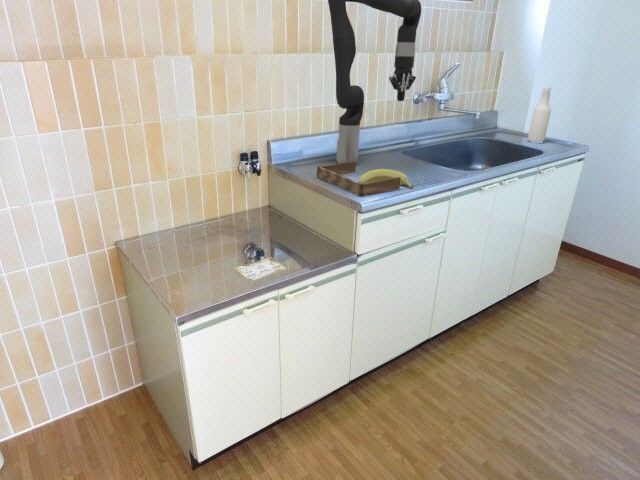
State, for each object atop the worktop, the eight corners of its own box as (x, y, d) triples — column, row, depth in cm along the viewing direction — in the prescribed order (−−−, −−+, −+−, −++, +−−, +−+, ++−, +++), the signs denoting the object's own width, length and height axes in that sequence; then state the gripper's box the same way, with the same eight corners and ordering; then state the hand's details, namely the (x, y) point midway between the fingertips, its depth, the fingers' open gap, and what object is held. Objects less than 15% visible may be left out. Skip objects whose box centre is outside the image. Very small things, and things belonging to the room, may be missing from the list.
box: (316, 177, 184) (317, 166, 183) (353, 171, 194) (354, 160, 193) (360, 197, 163) (361, 184, 162) (399, 188, 173) (400, 177, 172)
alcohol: (527, 142, 259) (539, 87, 246) (526, 139, 266) (537, 85, 254) (544, 144, 256) (557, 88, 244) (542, 141, 264) (555, 86, 252)
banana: (371, 161, 183) (419, 174, 176) (369, 172, 186) (416, 186, 180) (357, 177, 174) (407, 191, 167) (356, 189, 177) (405, 204, 170)
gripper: (410, 54, 185) (405, 98, 192) (385, 54, 178) (382, 100, 185) (423, 55, 179) (418, 101, 187) (399, 55, 173) (394, 102, 180)
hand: (400, 100), depth 186 cm, fingers closed
